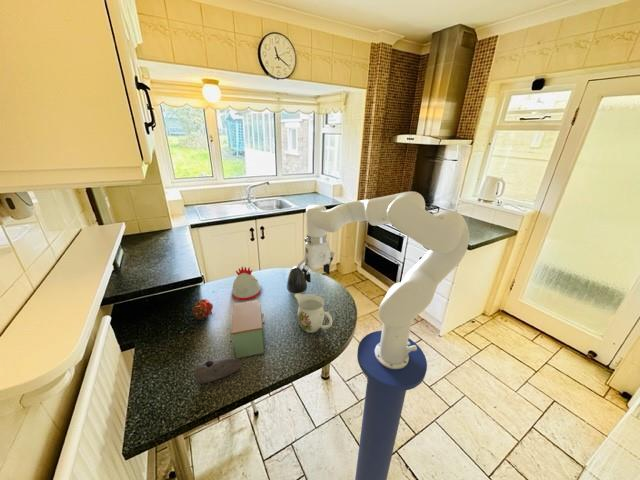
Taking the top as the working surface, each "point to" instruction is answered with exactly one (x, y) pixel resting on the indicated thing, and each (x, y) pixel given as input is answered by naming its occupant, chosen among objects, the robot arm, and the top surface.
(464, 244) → the robot arm
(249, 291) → the grey rounded dome
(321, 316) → the pitcher
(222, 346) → the top surface
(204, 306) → the dragon fruit
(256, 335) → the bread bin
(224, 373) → the perforated stone tool
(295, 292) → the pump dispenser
